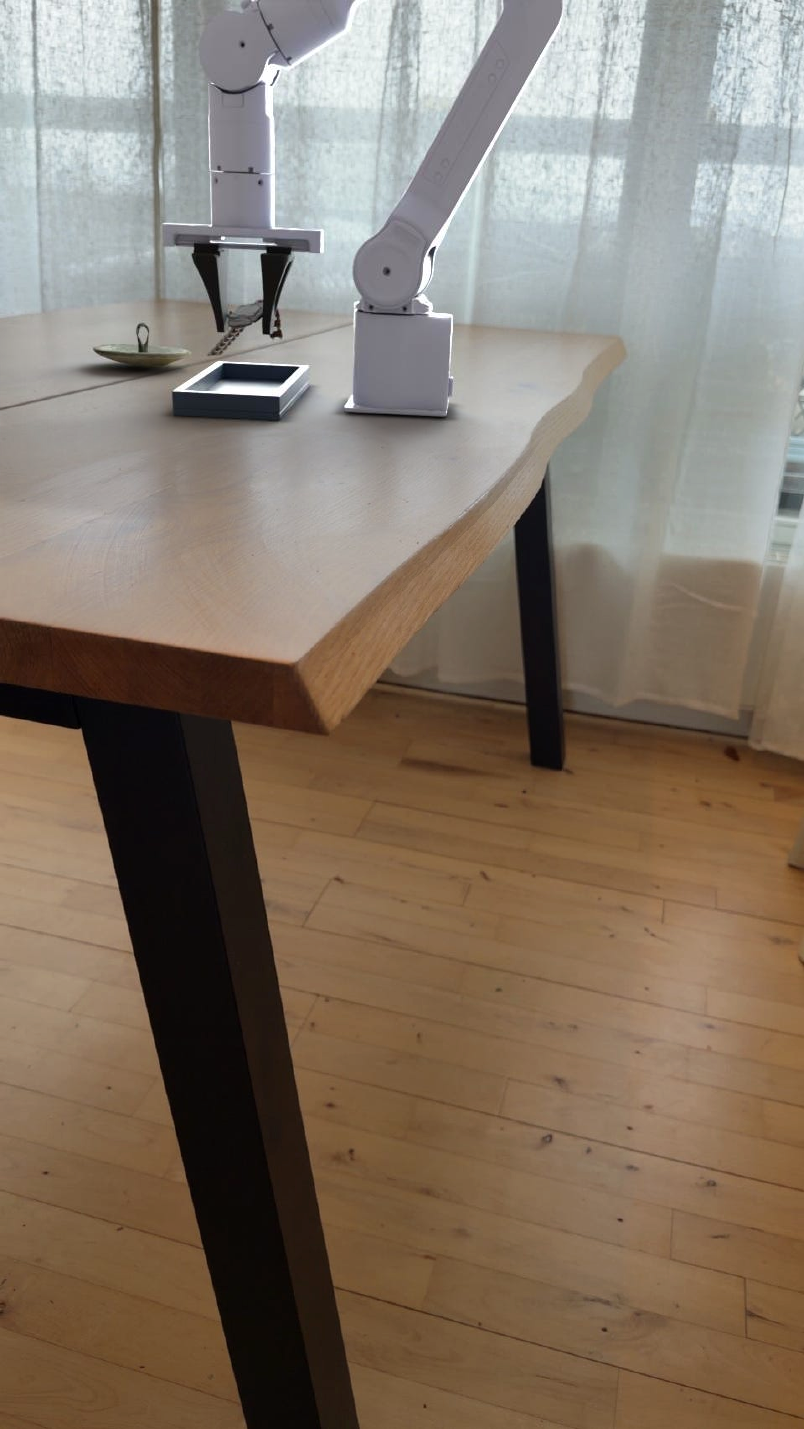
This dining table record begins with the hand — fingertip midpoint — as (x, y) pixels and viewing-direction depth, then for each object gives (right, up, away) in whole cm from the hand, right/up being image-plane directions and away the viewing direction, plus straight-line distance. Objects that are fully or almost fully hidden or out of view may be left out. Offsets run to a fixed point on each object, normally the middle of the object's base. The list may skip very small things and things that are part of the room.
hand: (245, 332), depth 108 cm
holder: (0, -6, +3) cm, 6 cm away
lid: (-15, +2, +19) cm, 24 cm away
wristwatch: (0, -2, 0) cm, 2 cm away
